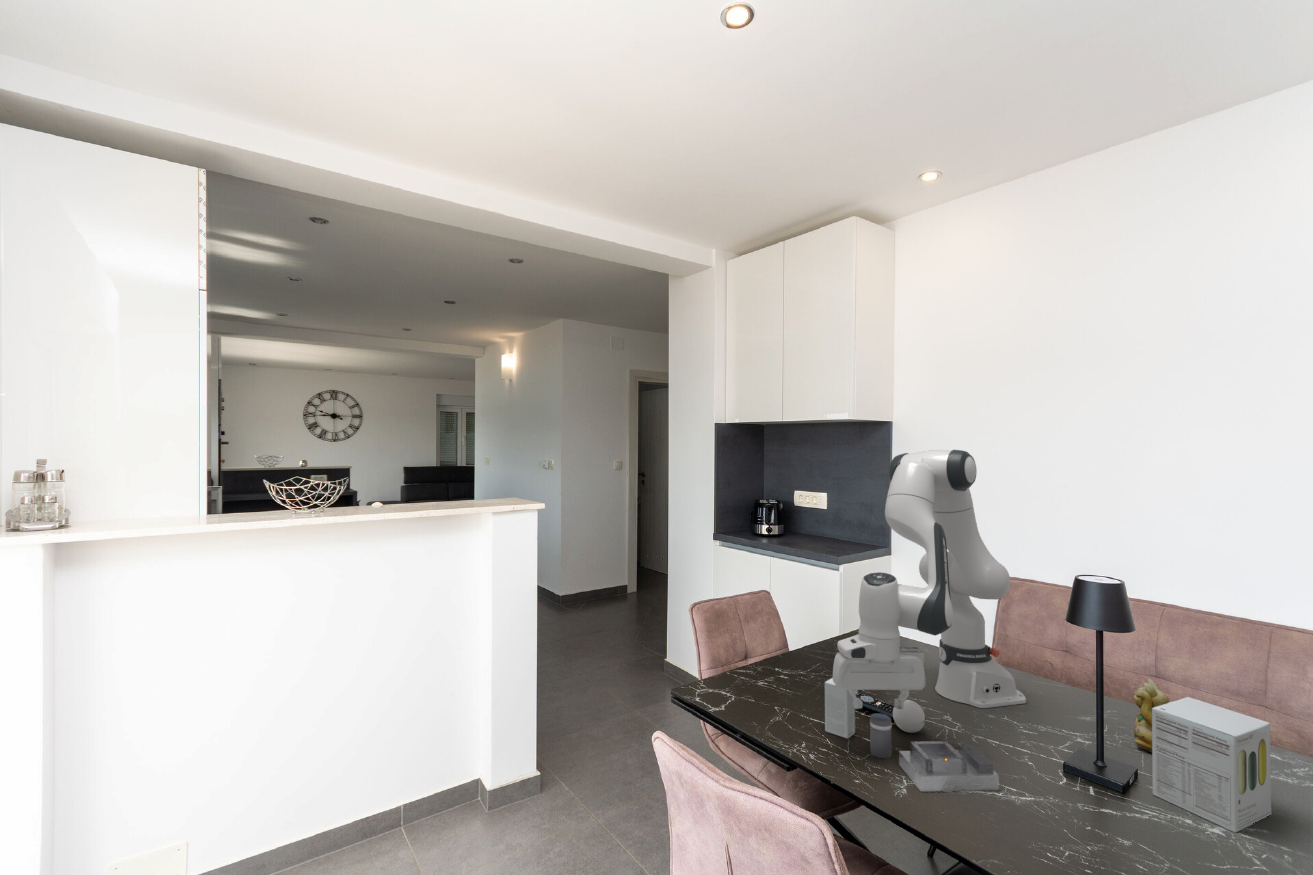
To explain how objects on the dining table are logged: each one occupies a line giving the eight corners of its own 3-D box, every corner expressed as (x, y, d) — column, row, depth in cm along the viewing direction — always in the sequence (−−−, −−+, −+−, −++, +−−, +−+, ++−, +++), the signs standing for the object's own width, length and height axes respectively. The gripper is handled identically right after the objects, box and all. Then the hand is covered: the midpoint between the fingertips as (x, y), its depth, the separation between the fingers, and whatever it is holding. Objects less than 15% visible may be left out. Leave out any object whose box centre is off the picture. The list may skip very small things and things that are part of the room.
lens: (886, 747, 137) (886, 712, 137) (895, 758, 132) (894, 721, 132) (866, 748, 137) (866, 712, 137) (874, 758, 132) (874, 721, 132)
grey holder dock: (971, 763, 130) (971, 737, 130) (998, 790, 120) (998, 761, 120) (899, 764, 129) (898, 738, 130) (920, 791, 119) (920, 762, 120)
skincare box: (855, 733, 144) (855, 683, 144) (847, 739, 141) (847, 688, 141) (832, 725, 148) (832, 676, 148) (824, 731, 145) (823, 681, 145)
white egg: (919, 741, 140) (919, 710, 140) (888, 731, 145) (887, 701, 145) (933, 726, 147) (933, 697, 147) (903, 717, 152) (903, 688, 152)
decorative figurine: (1136, 735, 142) (1136, 672, 143) (1182, 747, 136) (1181, 682, 137) (1130, 749, 136) (1129, 683, 136) (1178, 763, 130) (1177, 694, 130)
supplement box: (1236, 834, 106) (1235, 736, 106) (1151, 794, 118) (1149, 706, 118) (1273, 816, 111) (1272, 722, 112) (1188, 779, 124) (1187, 695, 124)
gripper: (917, 642, 138) (917, 702, 138) (830, 641, 138) (830, 701, 137) (930, 651, 132) (930, 714, 131) (839, 650, 131) (838, 713, 131)
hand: (878, 707), depth 134 cm, fingers open, 8 cm apart
